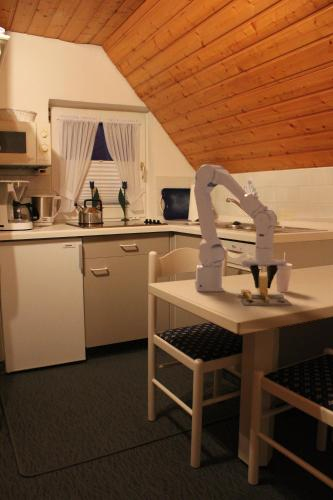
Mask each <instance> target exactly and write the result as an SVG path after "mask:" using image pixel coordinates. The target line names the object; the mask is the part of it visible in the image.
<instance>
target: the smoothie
mask: <svg viewBox="0 0 333 500" xmlns="http://www.w3.org/2000/svg"><path fill="white" fill-rule="evenodd" d="M286 253H287V252H285V251H284V252H283V260H285V261H286V256H287V255H286ZM293 266H294V265H293V264H292V263H288V262H286V267H282V266H277V268H278V271H277V272H276V274H275V285H276V292H279V293H287V292H288V290H289V287H290V286H289V284H290V280H291V279H290V278H291V275H292V274H291V273H292V269H293Z"/></svg>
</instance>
